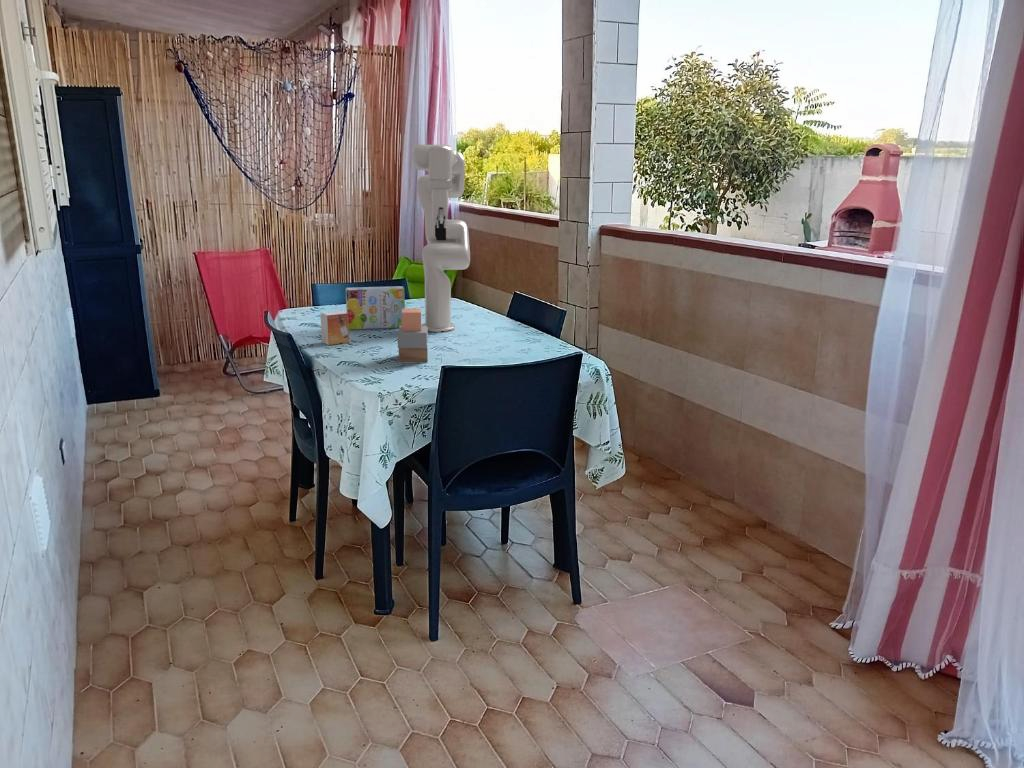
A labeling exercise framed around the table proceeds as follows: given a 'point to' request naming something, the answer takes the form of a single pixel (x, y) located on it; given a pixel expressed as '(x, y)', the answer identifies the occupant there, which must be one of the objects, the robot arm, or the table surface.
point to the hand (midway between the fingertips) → (440, 238)
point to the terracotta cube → (411, 319)
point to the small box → (335, 327)
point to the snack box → (375, 307)
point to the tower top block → (413, 338)
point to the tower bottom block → (413, 355)
